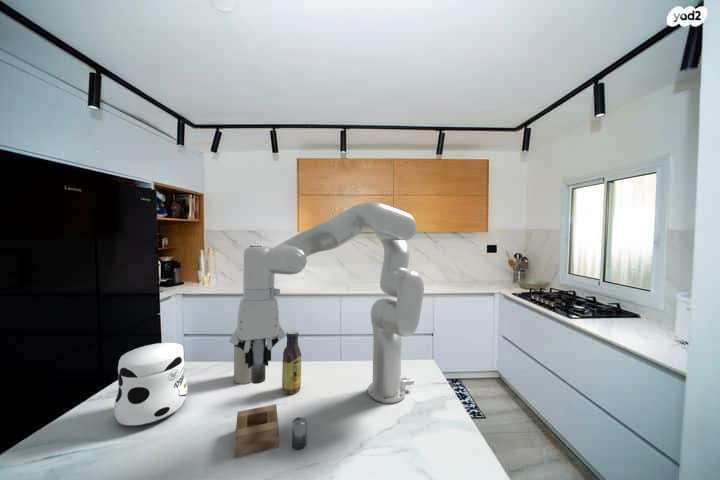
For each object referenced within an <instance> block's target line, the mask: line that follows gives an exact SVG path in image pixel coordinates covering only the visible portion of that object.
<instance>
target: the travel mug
mask: <svg viewBox="0 0 720 480" xmlns="http://www.w3.org/2000/svg"><path fill="white" fill-rule="evenodd" d="M244 342H245V341H244ZM250 348H251V342H250ZM233 381H234V382H235V383H237V384H242V385H243V384H248V383H251V367H250V368H248V364H245V352H244V351H243V350H242V349H241V348H240V347H238V346H237V345H235V344H233Z"/></svg>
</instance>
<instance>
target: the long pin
mask: <svg viewBox="0 0 720 480" xmlns="http://www.w3.org/2000/svg"><path fill="white" fill-rule="evenodd" d="M266 345H267V341H266V339H256V340H251V382H250V383H251V384H254V385H257V384H258V385H259V384H261V383H263V382H265V381H266V365H265V350H266Z"/></svg>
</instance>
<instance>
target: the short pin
mask: <svg viewBox="0 0 720 480" xmlns="http://www.w3.org/2000/svg"><path fill="white" fill-rule="evenodd" d="M307 422H308V421H307V418H306V417H304V416H298V417H295V418H293V419H292V421H291V448H292V449H293V451H294V450H295V451H302V450H304V449H305V448H306V447H307V443H308V442H307V439H308V437H307V436H308V435H307V434H308V433H307V431H308V429H307V428H308V426H307V425H308V423H307Z"/></svg>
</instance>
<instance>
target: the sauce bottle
mask: <svg viewBox="0 0 720 480" xmlns="http://www.w3.org/2000/svg"><path fill="white" fill-rule="evenodd" d="M299 333H300V332H299V331H298V330H295V329H294V330H293V329H292V330H289V331H286V332H285V335H286V336H285V337H286V345H285V348H284V350H283V352H282V366H281V367H282V369H281V370H282V373H281V375H282V377H281V379H282V380H281V387H282V392H283V393H284V394H286V395H293V394H297V393H298V392H299V391H300V390H301V385H302V352H301V349H300V347H299V336H300V335H299Z"/></svg>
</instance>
